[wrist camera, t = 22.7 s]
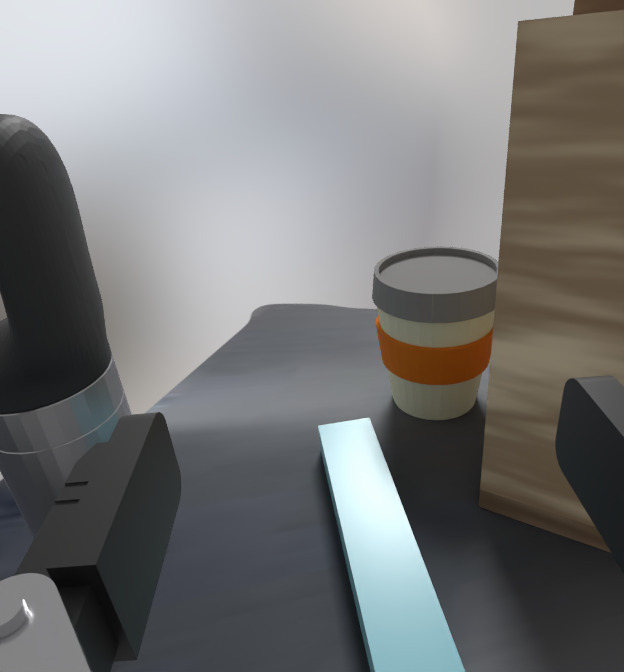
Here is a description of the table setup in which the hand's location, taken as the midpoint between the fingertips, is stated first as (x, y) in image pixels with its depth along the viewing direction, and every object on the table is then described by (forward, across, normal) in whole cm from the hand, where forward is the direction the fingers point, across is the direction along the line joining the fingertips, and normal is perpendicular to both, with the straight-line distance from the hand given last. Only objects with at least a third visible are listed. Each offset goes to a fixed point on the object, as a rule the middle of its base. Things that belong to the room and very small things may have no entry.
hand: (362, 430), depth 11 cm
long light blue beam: (+20, -2, +27) cm, 34 cm away
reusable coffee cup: (+39, -10, +28) cm, 50 cm away
